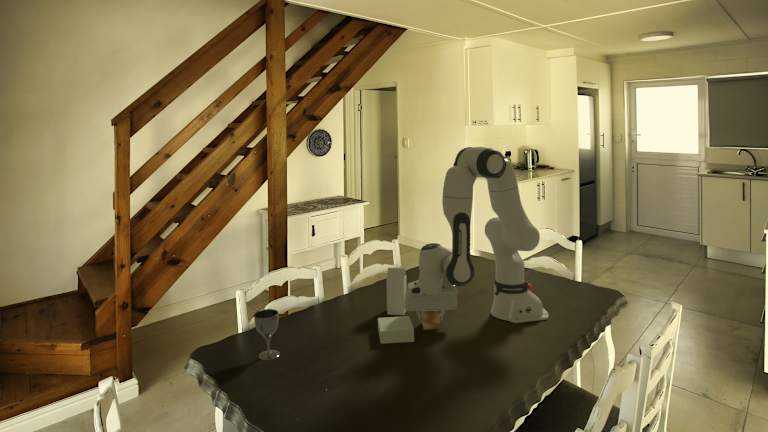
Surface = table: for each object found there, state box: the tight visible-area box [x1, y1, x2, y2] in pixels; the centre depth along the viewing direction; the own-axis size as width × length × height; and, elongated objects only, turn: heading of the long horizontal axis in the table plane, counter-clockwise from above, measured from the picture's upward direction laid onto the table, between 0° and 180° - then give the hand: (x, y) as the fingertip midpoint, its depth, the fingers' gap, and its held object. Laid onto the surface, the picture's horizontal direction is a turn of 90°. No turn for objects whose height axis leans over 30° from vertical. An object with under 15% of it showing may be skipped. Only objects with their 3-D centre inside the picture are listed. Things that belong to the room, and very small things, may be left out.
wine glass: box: [253, 308, 281, 361], centre depth 158 cm, size 8×8×15 cm
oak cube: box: [421, 310, 441, 331], centre depth 179 cm, size 6×6×6 cm
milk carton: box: [386, 267, 408, 316], centre depth 192 cm, size 7×7×19 cm
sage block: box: [377, 315, 415, 344], centre depth 172 cm, size 12×12×5 cm
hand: (430, 320), depth 179 cm, fingers closed on oak cube, 6 cm apart
